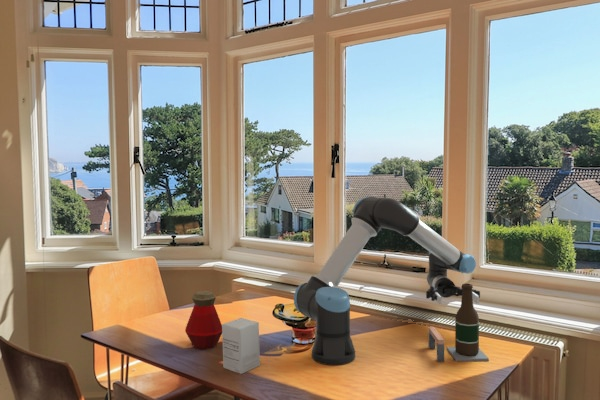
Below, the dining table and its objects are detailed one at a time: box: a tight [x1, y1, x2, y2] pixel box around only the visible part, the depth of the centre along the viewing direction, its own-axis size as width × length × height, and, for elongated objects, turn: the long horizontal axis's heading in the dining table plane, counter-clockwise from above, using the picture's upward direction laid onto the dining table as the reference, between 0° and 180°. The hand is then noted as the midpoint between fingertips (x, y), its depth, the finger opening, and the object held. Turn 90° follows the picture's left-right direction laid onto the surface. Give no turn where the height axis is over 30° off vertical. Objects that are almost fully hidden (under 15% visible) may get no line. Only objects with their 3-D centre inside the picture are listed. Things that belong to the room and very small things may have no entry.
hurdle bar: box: [427, 326, 445, 345], centre depth 172 cm, size 2×14×2 cm, turn 178°
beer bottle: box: [454, 283, 480, 356], centre depth 170 cm, size 8×8×24 cm
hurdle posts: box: [427, 331, 445, 363], centre depth 172 cm, size 2×14×6 cm, turn 179°
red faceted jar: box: [185, 290, 223, 350], centre depth 185 cm, size 16×14×20 cm
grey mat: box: [446, 346, 490, 362], centre depth 171 cm, size 11×11×1 cm
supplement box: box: [221, 317, 261, 375], centre depth 163 cm, size 9×9×15 cm
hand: (459, 300), depth 179 cm, fingers open, 13 cm apart
